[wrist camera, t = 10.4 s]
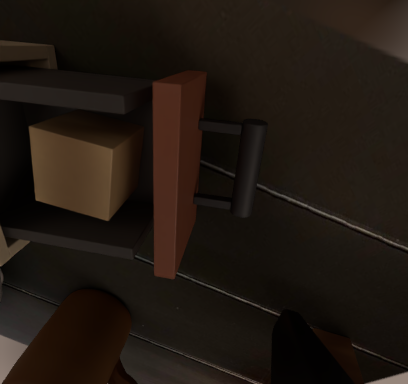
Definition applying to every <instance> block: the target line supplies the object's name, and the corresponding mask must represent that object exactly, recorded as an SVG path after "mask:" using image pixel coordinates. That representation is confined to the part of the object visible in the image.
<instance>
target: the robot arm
mask: <svg viewBox="0 0 408 384" xmlns="http://www.w3.org/2000/svg"><path fill="white" fill-rule="evenodd" d="M271 384H355V383H354V382H353V380H352V379H351V378H350V377H349V375H348V374H347V373H346V372H345V370H344V369H343V368H342V367H341V365H340V364H339V363H338V362H337V360H336V359H335V358H334V356H333V355H332V354H331V353H330V351H329V350H328V349H327V348H326V346H325V345H324V344H323V343H322V341H321V340H320V339H319V338H318V336H317V335H316V334H315V333H314V331H313V330H312V329H311V328H310V326H309V325H308V324H307V323H306V321H305V320H304V319H303V318H302V316H301V315H300V314H299V313H298V312H295V311H291V310H288V309H284V310H283V311H282V313H281V315H280V316H279V318H278V320H277V322H276V324H275V326H274V328H273V332H272V360H271Z"/></svg>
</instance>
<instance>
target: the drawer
mask: <svg viewBox="0 0 408 384" xmlns="http://www.w3.org/2000/svg"><path fill="white" fill-rule="evenodd" d="M206 77H207V72H202V71H192V70H187V71H184V72H181V73H178V74H175V75H172V76H169V77H166V78H163V79H160V80H151V79H141V78H132V77H122V76H113V75H103V74H94V73H84V72H74V71H65V70H55V69H46V68H36V67H27V66H17V65H7V66H0V225H1V228H2V231H3V234H4V236H5V237H10V238H16V239H21V240H27V241H32V242H38V243H43V244H49V245H54V246H60V247H65V248H71V249H76V250H82V251H87V252H93V253H98V254H104V255H109V256H115V257H120V258H126V259H131V260H133V258H134V257H135V255H136V253H137V251H138V250H139V248H140V246H141V245H142V243H143V241H144V240H145V238H146V236H147V234H148V233H149V231H150V229H151V228H152V226H153V224H154V275H155V276H159V277H164V278H170V279H174V278H175V276H176V273H177V270H178V267H179V265H180V262H181V259H182V256H183V253H184V251H185V248H186V245H187V242H188V240H189V237H190V234H191V231H192V228H193V226H194V223H195V220H196V210H197V205H202V206H209V207H215V208H222V209H228V210H230V211H231V213H232V214H233V215H235V216H237V217H249V216H250V215H251V213H252V208H253V202H254V197H255V192H256V186H257V181H258V175H259V170H260V165H261V159H262V154H263V148H264V143H265V138H266V132H267V127H268V123H267V122H265V121H262V120H257V119H246V120H244V121H243V124H242V123H239V122H231V121H222V120H214V119H206V118H203V117H204V104H205V90H206ZM77 109H80V110H84V111H87V112H91V113H95V114H98V115H102V116H106V117H110V118H113V119H117V120H121V121H125V122H128V123H132V124H136V125H140V126H143V127H144V135H143V143H142V152H141V161H140V170H139V179H138V187H137V188H136V189H135V191H134V192H133V193H132V194H131V195H130V196H129V198H128V199H127V200H126V201H125V202H124V203H123V205H122V206H121V207H120V208H119V209H118V210H117V212H116V213H115V214H114V215H113V216H112V217H111V218H110V220H109V221H106V220H103V219H99V218H96V217H92V216H89V215H85V214H82V213H78V212H75V211H71V210H68V209H64V208H61V207H57V206H54V205H50V204H47V203H43V202H40V201H36V199H35V188H34V177H33V166H32V155H31V145H30V134H29V126H31V125H34V124H37V123H40V122H43V121H46V120H49V119H51V118H54V117H57V116H60V115H63V114H66V113H69V112H72V111H74V110H77ZM202 130H203V131H211V132H219V133H227V134H235V135H241V139H240V146H239V153H238V160H237V167H236V174H235V181H234V188H233V195H232V198H227V197H221V196H214V195H207V194H201V193H198V183H199V170H200V157H201V144H202Z"/></svg>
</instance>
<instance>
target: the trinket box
mask: <svg viewBox="0 0 408 384" xmlns="http://www.w3.org/2000/svg"><path fill="white" fill-rule="evenodd" d="M2 283H3V273H2V271H1V268H0V302H1V298H2Z"/></svg>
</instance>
